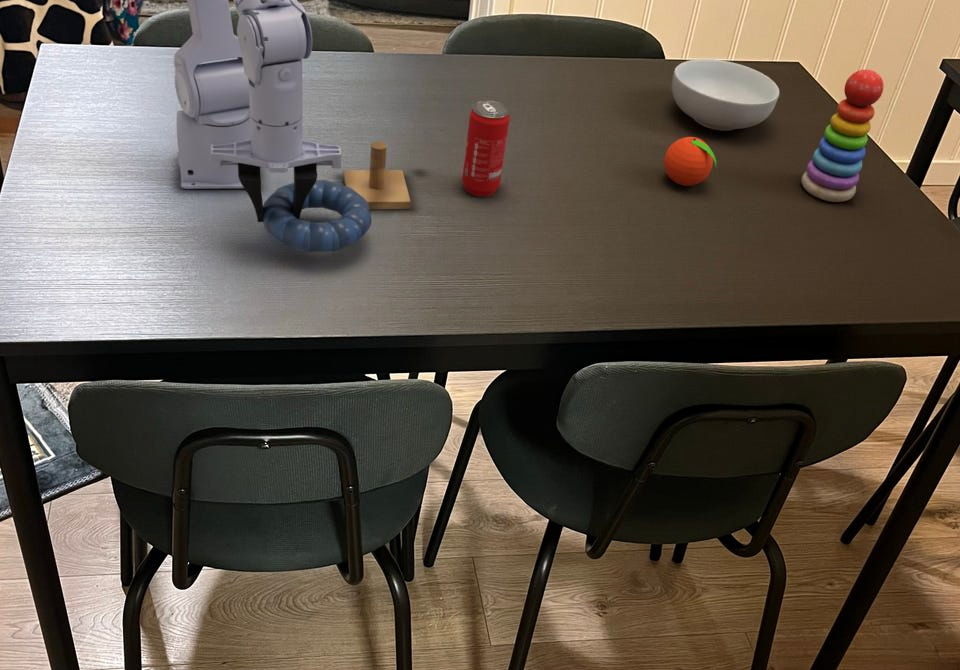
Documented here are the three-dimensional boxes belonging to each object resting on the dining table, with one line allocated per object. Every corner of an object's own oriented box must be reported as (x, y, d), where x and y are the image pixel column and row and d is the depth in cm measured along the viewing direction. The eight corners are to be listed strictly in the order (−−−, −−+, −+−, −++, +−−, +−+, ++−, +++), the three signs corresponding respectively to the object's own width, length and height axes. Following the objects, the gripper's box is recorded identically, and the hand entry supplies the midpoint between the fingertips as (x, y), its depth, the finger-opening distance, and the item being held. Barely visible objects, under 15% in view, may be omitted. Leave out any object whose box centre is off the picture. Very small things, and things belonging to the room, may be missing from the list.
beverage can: (471, 201, 129) (482, 120, 122) (455, 181, 133) (464, 102, 125) (505, 195, 131) (517, 115, 124) (488, 176, 135) (499, 97, 127)
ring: (265, 258, 111) (264, 234, 108) (261, 198, 120) (261, 175, 118) (375, 256, 113) (377, 232, 111) (364, 198, 123) (365, 175, 121)
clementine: (721, 188, 140) (734, 145, 135) (694, 203, 136) (708, 159, 131) (676, 165, 144) (688, 122, 139) (649, 179, 140) (661, 135, 135)
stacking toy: (856, 187, 145) (905, 71, 133) (848, 210, 139) (899, 91, 127) (805, 171, 147) (848, 55, 135) (795, 193, 141) (839, 74, 130)
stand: (348, 209, 124) (350, 160, 120) (343, 177, 130) (344, 129, 126) (410, 209, 126) (413, 161, 121) (401, 177, 132) (405, 130, 127)
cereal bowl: (780, 120, 160) (794, 81, 156) (745, 155, 149) (759, 114, 144) (688, 86, 166) (698, 48, 162) (647, 118, 155) (658, 77, 150)
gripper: (207, 131, 102) (215, 237, 110) (345, 132, 105) (342, 235, 113) (208, 100, 107) (215, 203, 115) (339, 102, 110) (336, 203, 119)
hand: (278, 217), depth 115 cm, fingers closed on ring, 3 cm apart
